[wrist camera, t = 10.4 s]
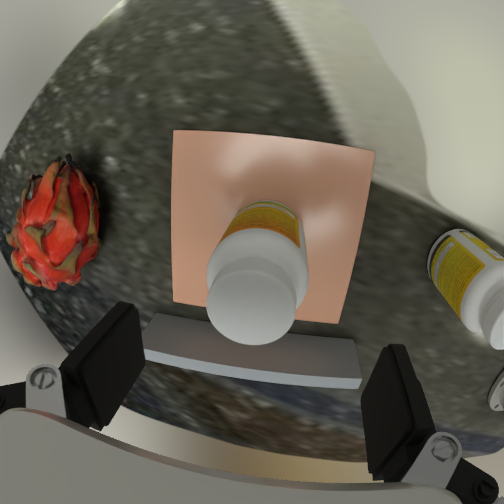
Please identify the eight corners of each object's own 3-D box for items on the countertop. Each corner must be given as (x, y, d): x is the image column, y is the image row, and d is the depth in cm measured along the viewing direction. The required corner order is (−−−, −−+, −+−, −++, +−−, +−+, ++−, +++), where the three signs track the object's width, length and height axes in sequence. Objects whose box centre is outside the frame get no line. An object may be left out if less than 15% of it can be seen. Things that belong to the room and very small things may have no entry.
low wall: (353, 339, 25) (362, 378, 21) (349, 349, 26) (357, 388, 21) (156, 312, 27) (133, 346, 22) (157, 322, 27) (136, 356, 22)
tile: (373, 151, 19) (375, 151, 19) (337, 320, 25) (337, 323, 24) (176, 130, 20) (173, 130, 20) (175, 298, 26) (173, 301, 25)
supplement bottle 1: (216, 217, 22) (167, 281, 13) (285, 186, 20) (280, 233, 11) (250, 279, 23) (226, 367, 15) (315, 253, 22) (328, 337, 13)
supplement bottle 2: (427, 293, 23) (475, 370, 14) (422, 236, 21) (486, 301, 12) (476, 276, 21) (533, 341, 12) (475, 220, 20) (548, 272, 11)
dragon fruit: (72, 262, 28) (108, 153, 25) (101, 316, 23) (146, 187, 20) (-1, 258, 21) (26, 132, 18) (10, 321, 16) (36, 162, 13)
